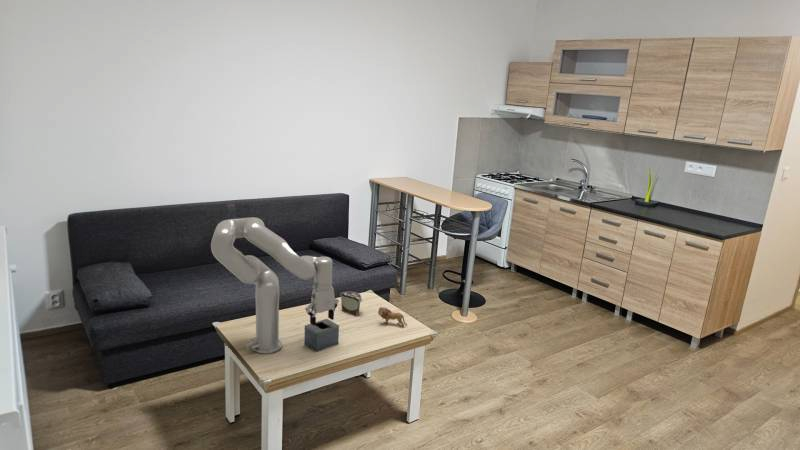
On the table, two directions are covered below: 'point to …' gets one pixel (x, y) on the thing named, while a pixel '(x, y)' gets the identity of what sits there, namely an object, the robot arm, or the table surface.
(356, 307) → the food container
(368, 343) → the table surface
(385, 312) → the lion figurine
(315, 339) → the box
